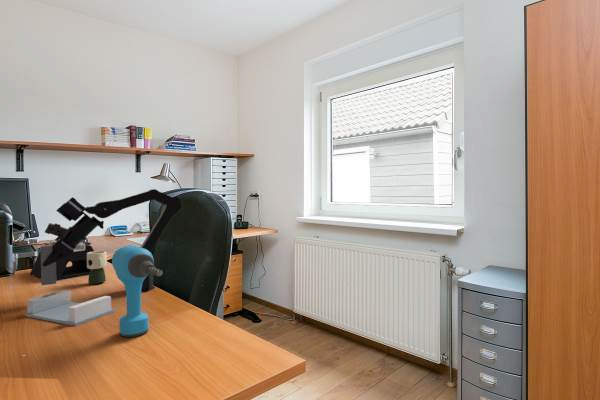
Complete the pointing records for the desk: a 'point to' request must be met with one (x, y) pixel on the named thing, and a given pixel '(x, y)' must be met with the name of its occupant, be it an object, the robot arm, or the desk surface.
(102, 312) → the vise base
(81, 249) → the device stand
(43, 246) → the steel block
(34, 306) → the bar
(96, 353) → the desk surface
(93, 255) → the character mug
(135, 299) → the power drill
